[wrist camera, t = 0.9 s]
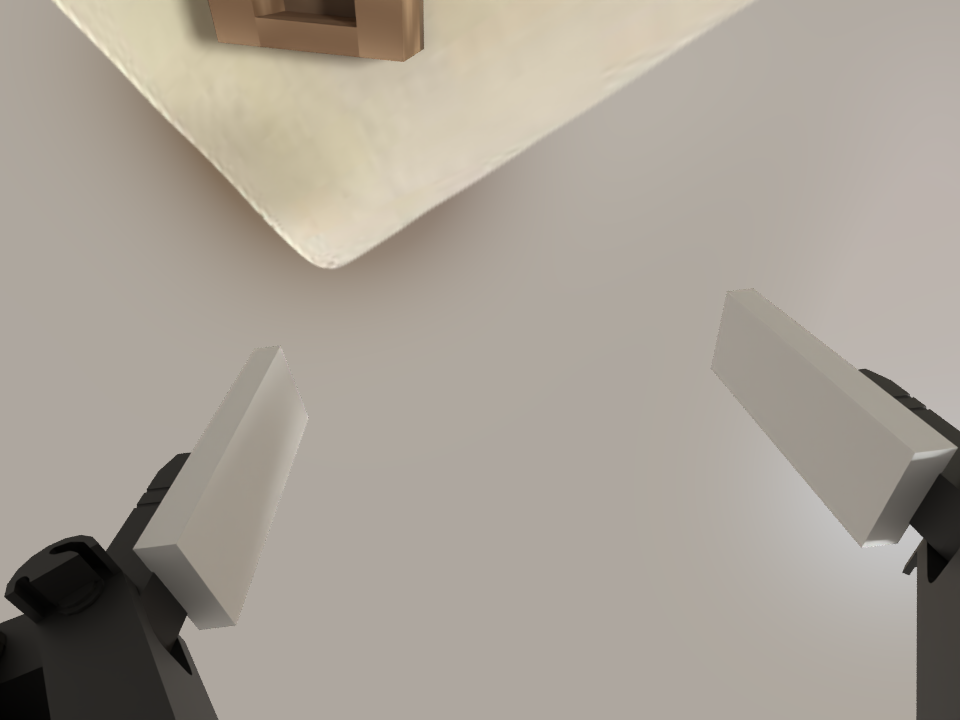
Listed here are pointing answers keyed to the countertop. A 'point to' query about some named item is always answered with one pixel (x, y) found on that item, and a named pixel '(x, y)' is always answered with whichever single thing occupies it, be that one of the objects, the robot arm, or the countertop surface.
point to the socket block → (324, 26)
